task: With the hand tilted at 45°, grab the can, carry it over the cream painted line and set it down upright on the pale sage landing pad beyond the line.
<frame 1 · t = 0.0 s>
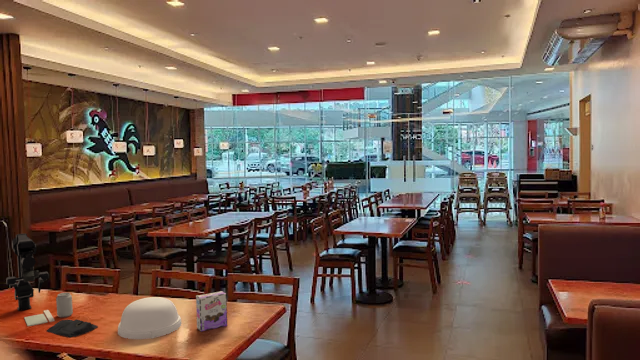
hand: (29, 294, 251), 15 cm above the table, tool pointing down, fingers open, 9 cm apart
dark slate chunk: (72, 330, 240), on the table
landing pad: (35, 320, 255), on the table
candy box: (212, 327, 239), on the table
can: (65, 315, 261), on the table
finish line: (48, 316, 261), on the table
dome cover: (150, 328, 240), on the table
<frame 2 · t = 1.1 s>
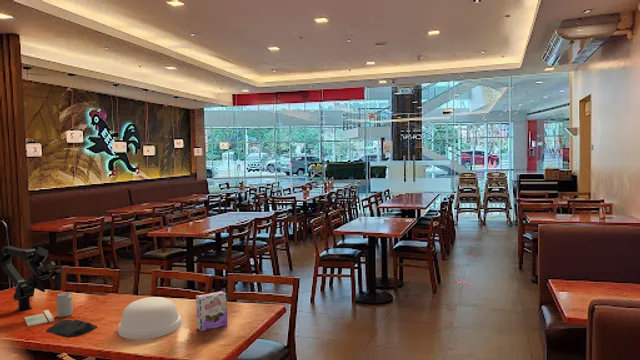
hand: (52, 289, 264), 13 cm above the table, tool tilted 45°, fingers open, 9 cm apart
nothing on the table moved.
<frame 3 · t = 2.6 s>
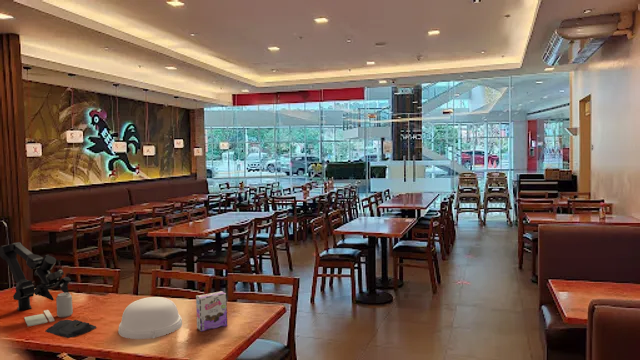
hand: (60, 297, 262), 10 cm above the table, tool tilted 45°, fingers open, 9 cm apart
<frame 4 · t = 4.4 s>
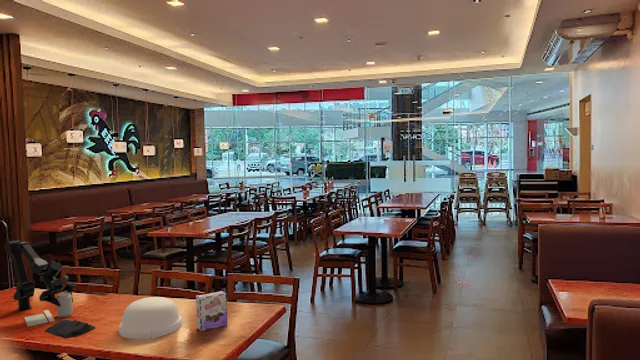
hand: (66, 303, 260), 7 cm above the table, tool tilted 45°, fingers closed on can, 7 cm apart
can: (65, 315, 261), on the table, touching gripper
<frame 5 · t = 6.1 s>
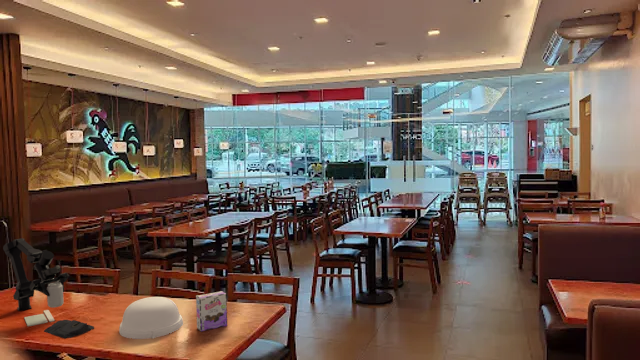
hand: (56, 293, 256), 13 cm above the table, tool tilted 45°, fingers closed on can, 7 cm apart
can: (55, 306, 258), point 6 cm above the table, touching gripper
when the fingers open (8 cm above the table, at t = 8.3 s): can drops 1 cm, resting on landing pad.
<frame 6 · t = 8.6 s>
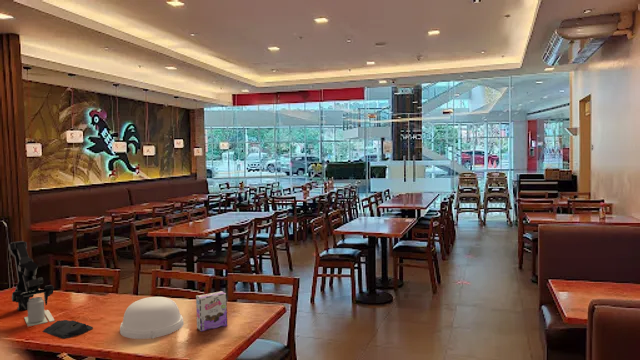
hand: (36, 306, 250), 9 cm above the table, tool tilted 45°, fingers open, 9 cm apart
can: (36, 321, 252), resting on landing pad
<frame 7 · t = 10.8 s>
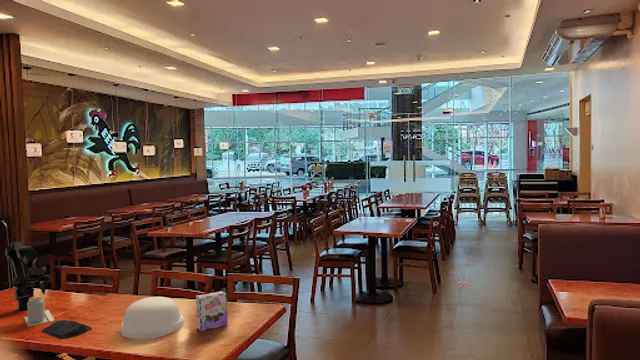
hand: (35, 294, 258), 13 cm above the table, tool tilted 35°, fingers open, 9 cm apart
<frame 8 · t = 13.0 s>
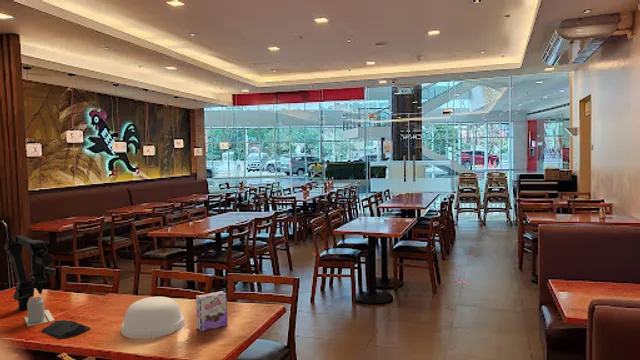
hand: (39, 292, 265), 12 cm above the table, tool pointing down, fingers open, 9 cm apart
at the end: can inside the target area (1.3 cm from its centre), resting on landing pad; can tilted 0°; the gripper is holding nothing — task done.
